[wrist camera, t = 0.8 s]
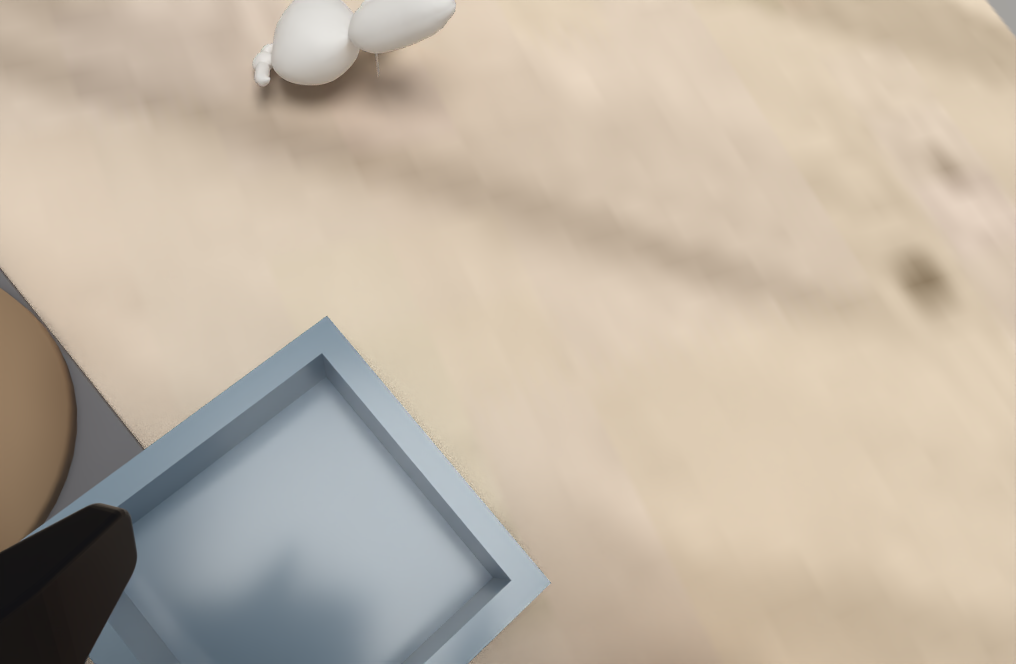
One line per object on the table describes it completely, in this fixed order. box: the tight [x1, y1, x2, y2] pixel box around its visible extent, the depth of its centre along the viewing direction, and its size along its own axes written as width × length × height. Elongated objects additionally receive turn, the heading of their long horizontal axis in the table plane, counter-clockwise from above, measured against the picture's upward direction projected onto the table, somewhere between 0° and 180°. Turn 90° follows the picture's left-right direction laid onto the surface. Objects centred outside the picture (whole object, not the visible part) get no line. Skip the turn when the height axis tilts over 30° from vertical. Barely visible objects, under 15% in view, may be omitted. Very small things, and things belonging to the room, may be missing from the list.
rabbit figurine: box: [252, 0, 456, 86], centre depth 28 cm, size 6×4×8 cm
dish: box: [19, 316, 551, 664], centre depth 23 cm, size 10×10×4 cm
